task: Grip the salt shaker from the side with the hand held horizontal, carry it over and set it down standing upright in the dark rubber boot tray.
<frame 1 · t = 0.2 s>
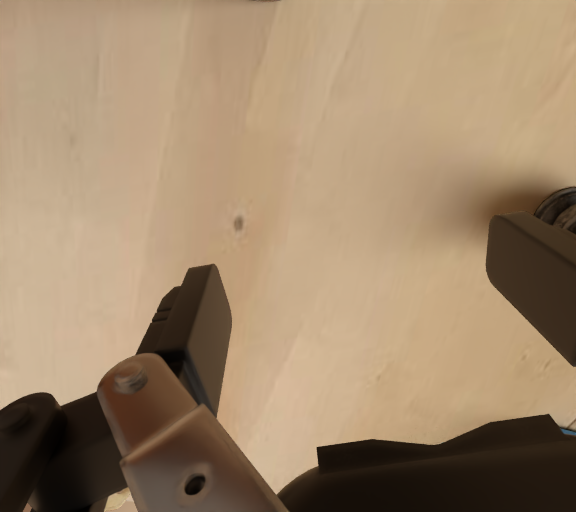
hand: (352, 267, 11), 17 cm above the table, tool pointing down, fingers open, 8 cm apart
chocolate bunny: (109, 430, 40), on the table
salt shaker: (562, 217, 29), on the table
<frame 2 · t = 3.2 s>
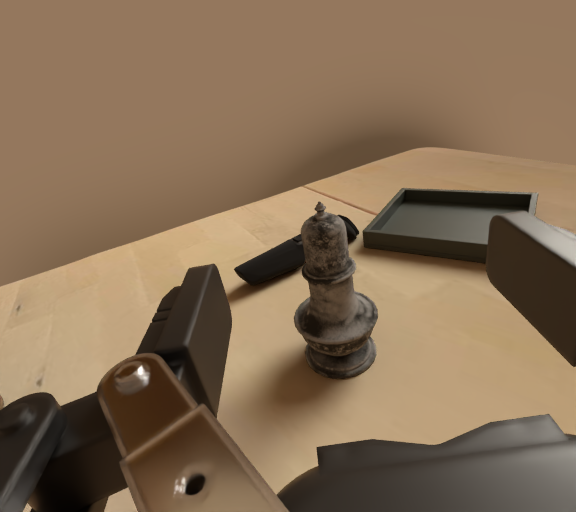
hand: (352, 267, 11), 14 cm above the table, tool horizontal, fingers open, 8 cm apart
tray: (450, 228, 41), on the table
electric trimmer: (304, 261, 40), on the table
salt shaker: (340, 352, 27), on the table
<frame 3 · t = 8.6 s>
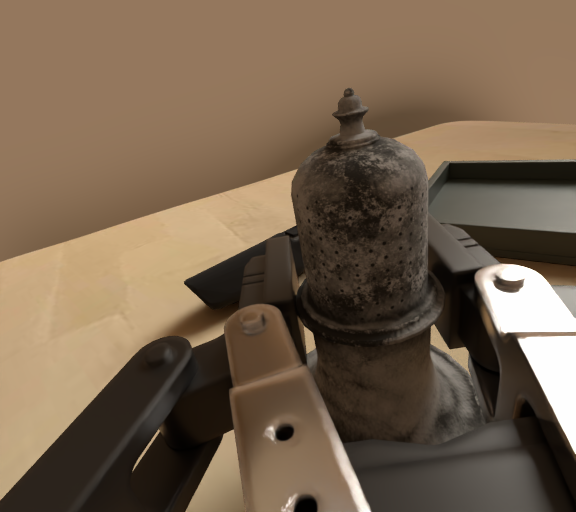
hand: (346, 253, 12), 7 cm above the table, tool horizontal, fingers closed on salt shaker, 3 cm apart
tray: (533, 214, 26), on the table
electric trimmer: (304, 267, 25), on the table
salt shaker: (382, 473, 12), on the table, touching gripper
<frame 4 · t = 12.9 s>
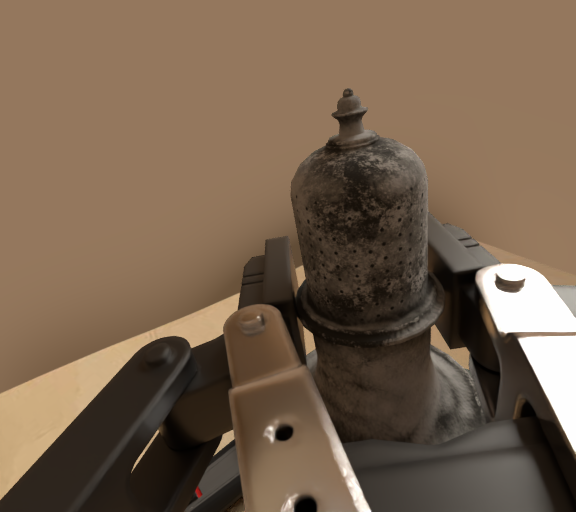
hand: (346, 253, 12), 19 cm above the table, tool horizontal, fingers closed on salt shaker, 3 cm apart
salt shaker: (382, 473, 12), point 11 cm above the table, touching gripper
when the fingers open (8 cm above the table, at t = 17.5 s): salt shaker stays where it is, resting on tray.
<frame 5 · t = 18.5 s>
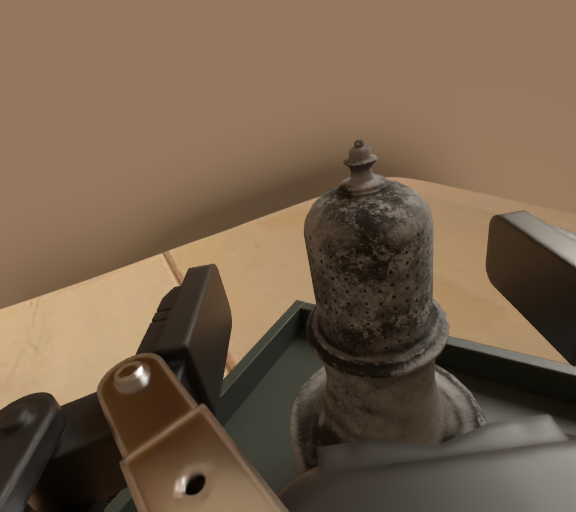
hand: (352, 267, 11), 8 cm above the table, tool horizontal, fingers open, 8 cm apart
tray: (384, 487, 13), on the table
salt shaker: (388, 487, 13), resting on tray
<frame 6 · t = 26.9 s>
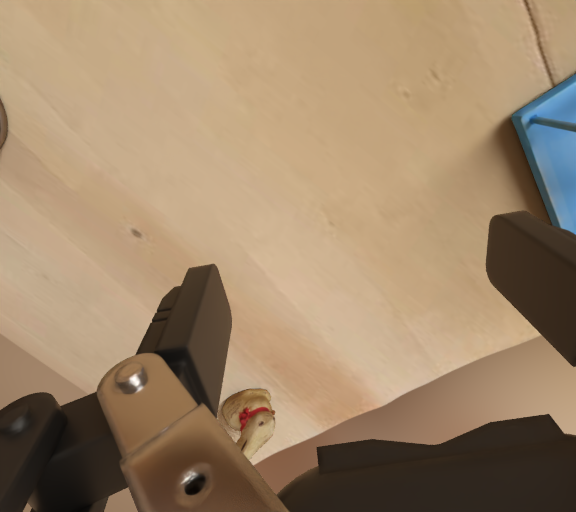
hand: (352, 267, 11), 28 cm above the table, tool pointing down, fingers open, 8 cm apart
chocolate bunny: (248, 398, 54), on the table
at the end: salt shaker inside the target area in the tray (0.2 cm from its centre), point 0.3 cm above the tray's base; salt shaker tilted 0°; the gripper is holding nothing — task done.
